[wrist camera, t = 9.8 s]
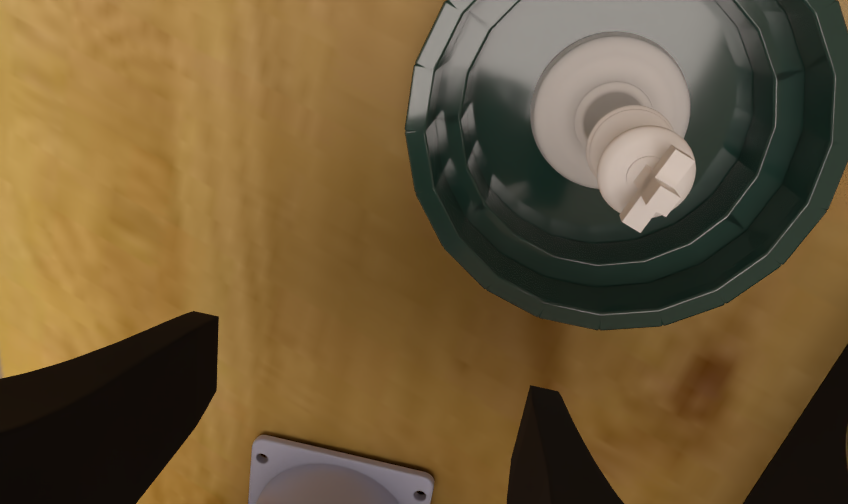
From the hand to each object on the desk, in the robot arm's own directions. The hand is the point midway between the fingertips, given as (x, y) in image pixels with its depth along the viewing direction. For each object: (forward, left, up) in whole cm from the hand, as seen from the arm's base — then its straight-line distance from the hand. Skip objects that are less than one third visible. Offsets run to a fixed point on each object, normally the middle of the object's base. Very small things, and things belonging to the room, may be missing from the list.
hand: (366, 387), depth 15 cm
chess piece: (+5, -5, -10) cm, 12 cm away
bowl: (+5, -5, -10) cm, 13 cm away
